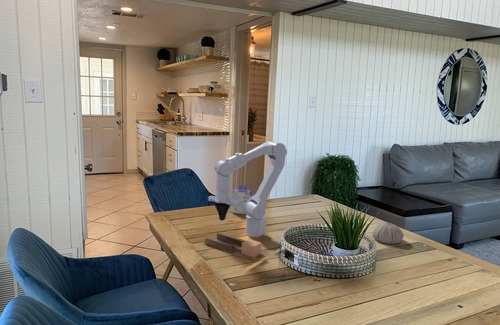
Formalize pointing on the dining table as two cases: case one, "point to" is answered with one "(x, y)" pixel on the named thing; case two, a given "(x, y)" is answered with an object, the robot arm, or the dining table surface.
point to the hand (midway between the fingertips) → (222, 219)
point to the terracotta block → (251, 248)
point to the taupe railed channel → (230, 245)
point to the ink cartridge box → (241, 199)
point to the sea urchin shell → (388, 233)
